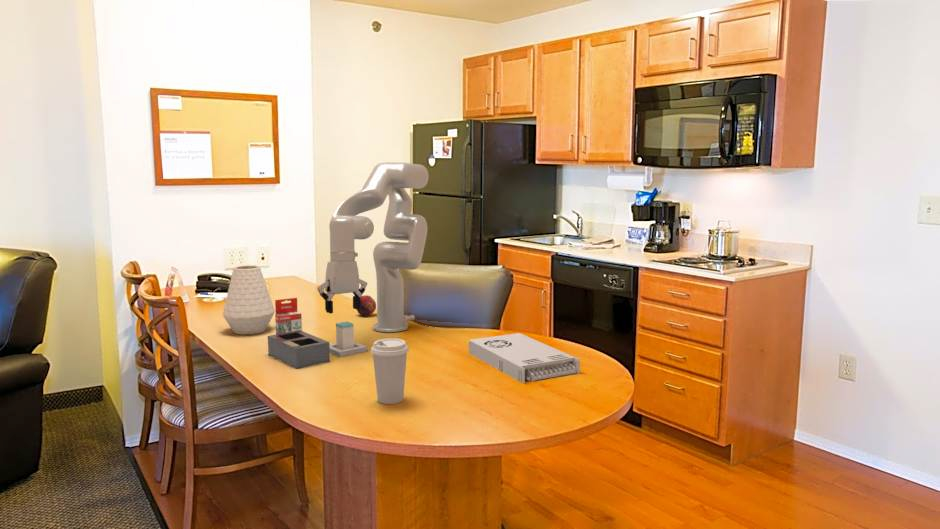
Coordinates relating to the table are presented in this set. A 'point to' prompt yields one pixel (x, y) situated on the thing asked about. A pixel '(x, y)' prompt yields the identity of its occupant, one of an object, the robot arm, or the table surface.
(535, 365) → the power supply unit
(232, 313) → the vase
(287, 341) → the port block
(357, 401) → the table surface
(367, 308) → the fruit
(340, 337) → the plug
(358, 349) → the white square frame
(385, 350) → the coffee cup
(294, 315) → the ink box
